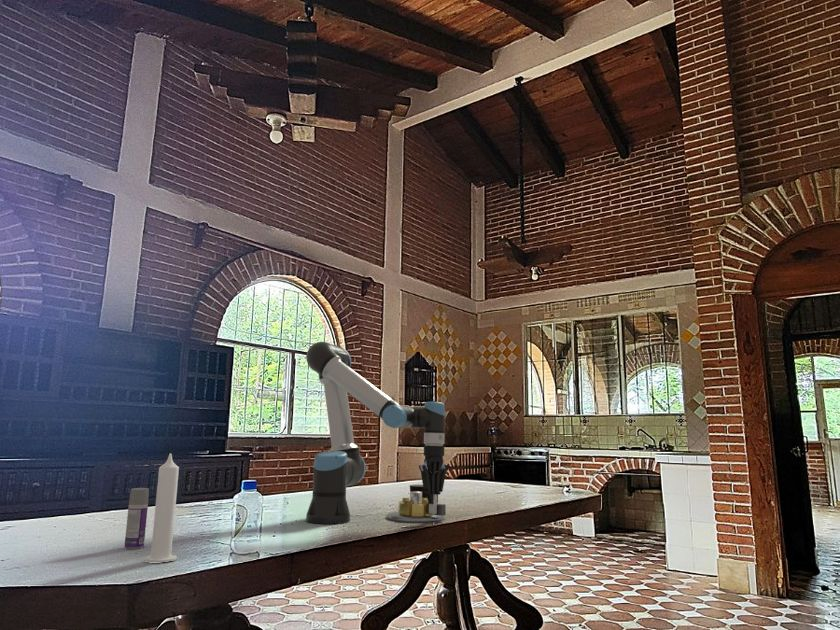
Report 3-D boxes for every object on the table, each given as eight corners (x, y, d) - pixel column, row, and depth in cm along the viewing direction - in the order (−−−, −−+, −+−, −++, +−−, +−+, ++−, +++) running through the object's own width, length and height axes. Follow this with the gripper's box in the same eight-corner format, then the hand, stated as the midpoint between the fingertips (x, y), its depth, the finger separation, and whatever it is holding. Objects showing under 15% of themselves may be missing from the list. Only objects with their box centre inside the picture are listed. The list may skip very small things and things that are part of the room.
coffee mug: (428, 513, 227) (429, 486, 229) (407, 512, 229) (407, 486, 231) (434, 509, 238) (434, 484, 240) (413, 509, 240) (413, 483, 242)
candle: (180, 557, 145) (189, 453, 150) (169, 563, 138) (179, 454, 143) (151, 557, 145) (161, 452, 149) (139, 563, 138) (150, 453, 142)
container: (138, 545, 159) (144, 487, 162) (147, 547, 156) (152, 488, 159) (120, 547, 155) (127, 488, 158) (129, 550, 152) (135, 490, 155)
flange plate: (384, 522, 205) (384, 494, 207) (389, 513, 226) (390, 488, 227) (444, 523, 204) (444, 495, 206) (444, 514, 225) (444, 489, 226)
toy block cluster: (391, 513, 214) (392, 499, 215) (413, 510, 224) (413, 496, 225) (432, 519, 203) (432, 503, 204) (453, 515, 212) (453, 500, 213)
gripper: (428, 445, 206) (427, 516, 201) (453, 445, 215) (452, 513, 210) (414, 444, 211) (412, 513, 206) (438, 445, 220) (437, 511, 215)
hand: (432, 513), depth 208 cm, fingers closed
